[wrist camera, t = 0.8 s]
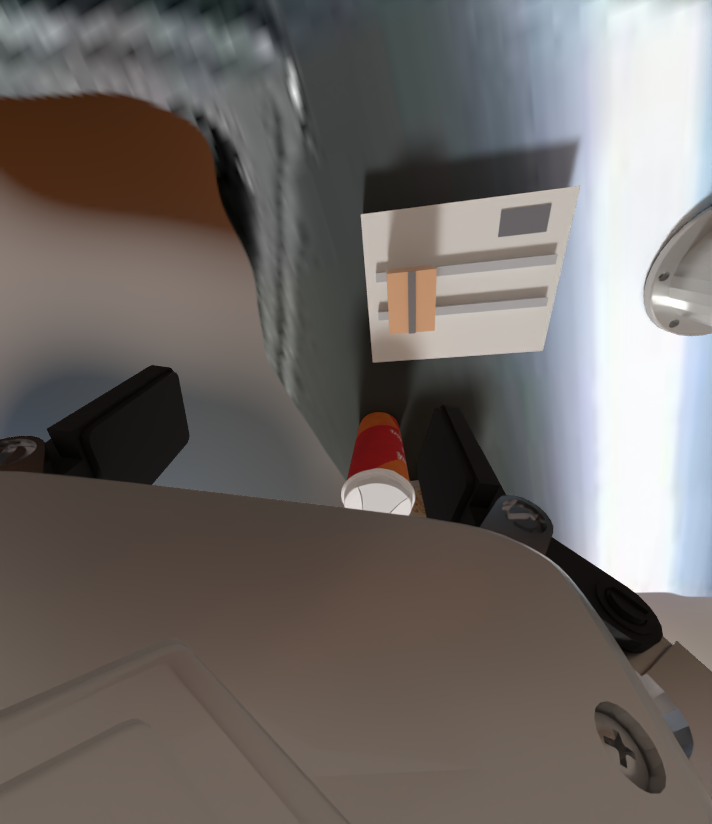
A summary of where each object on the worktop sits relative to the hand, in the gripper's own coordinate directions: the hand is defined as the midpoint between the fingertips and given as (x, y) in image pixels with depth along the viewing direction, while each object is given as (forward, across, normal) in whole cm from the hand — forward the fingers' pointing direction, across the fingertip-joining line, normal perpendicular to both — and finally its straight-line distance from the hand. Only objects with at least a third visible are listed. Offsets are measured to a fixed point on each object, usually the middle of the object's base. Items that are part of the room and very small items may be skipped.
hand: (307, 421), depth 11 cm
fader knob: (+22, -6, -2) cm, 23 cm away
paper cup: (+26, -7, +17) cm, 31 cm away
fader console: (+25, -11, -3) cm, 27 cm away
